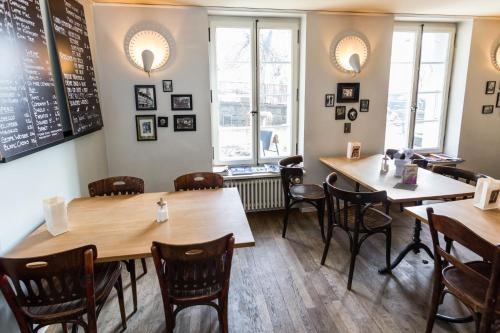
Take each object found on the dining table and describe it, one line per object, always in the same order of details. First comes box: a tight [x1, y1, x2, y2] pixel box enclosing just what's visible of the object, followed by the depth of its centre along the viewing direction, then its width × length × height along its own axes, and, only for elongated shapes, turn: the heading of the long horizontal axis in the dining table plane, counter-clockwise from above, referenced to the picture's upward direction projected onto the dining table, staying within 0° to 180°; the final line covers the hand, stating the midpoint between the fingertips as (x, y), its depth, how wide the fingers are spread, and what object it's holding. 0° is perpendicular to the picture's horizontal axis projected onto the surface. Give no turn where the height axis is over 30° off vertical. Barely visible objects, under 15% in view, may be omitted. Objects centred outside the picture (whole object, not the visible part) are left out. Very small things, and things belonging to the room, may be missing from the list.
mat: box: [392, 182, 419, 192], centre depth 267 cm, size 16×16×1 cm
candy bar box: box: [400, 163, 419, 184], centre depth 275 cm, size 11×5×16 cm, turn 83°
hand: (395, 158), depth 280 cm, fingers open, 7 cm apart
